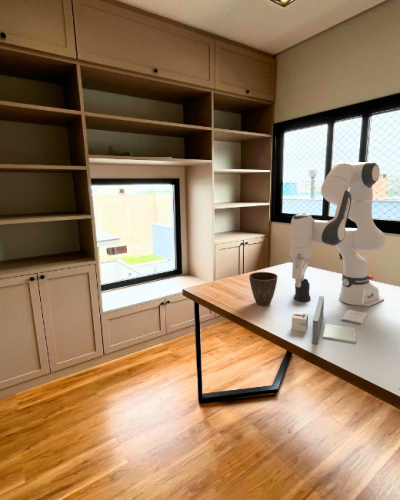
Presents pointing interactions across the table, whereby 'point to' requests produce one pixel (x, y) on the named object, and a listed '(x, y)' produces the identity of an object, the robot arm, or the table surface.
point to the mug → (302, 292)
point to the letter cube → (300, 321)
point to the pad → (339, 333)
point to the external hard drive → (354, 317)
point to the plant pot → (263, 287)
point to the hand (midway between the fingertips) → (300, 283)
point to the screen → (318, 320)
